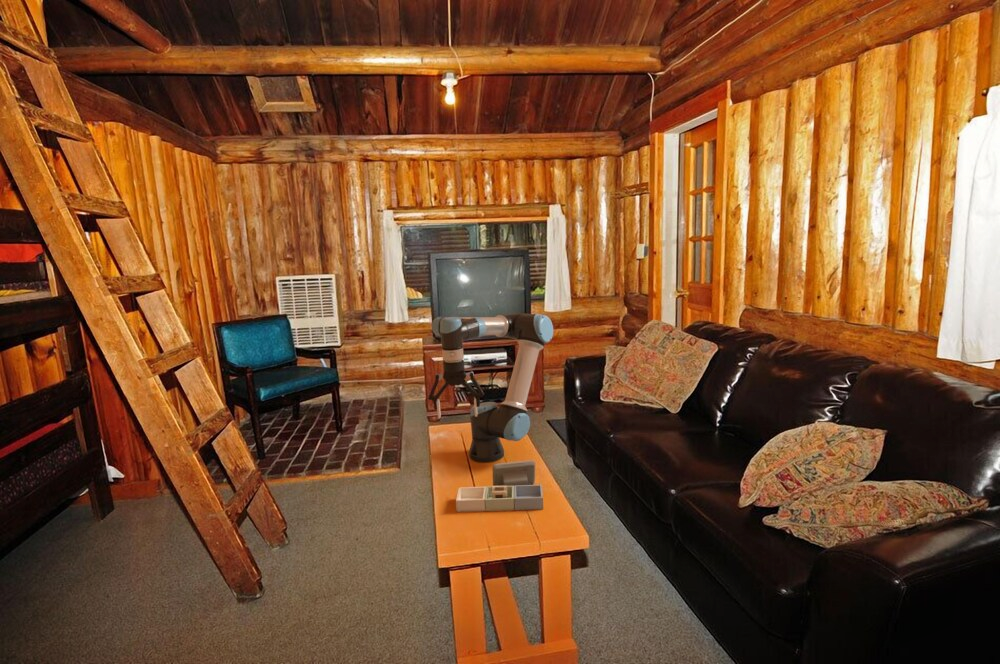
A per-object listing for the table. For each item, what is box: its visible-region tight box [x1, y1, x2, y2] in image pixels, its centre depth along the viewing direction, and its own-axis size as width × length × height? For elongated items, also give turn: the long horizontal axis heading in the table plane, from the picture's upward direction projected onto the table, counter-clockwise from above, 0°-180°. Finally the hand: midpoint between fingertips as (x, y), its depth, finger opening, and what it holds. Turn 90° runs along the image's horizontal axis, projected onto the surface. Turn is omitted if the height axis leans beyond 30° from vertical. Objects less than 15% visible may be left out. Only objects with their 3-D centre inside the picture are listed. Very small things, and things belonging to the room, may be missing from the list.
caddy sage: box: [485, 485, 515, 512], centre depth 185 cm, size 10×10×4 cm
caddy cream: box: [455, 486, 487, 513], centre depth 186 cm, size 10×10×4 cm
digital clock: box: [492, 459, 536, 486], centre depth 196 cm, size 16×9×11 cm, turn 86°
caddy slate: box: [514, 484, 544, 511], centre depth 185 cm, size 10×10×4 cm
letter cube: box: [492, 485, 508, 499], centre depth 185 cm, size 5×5×5 cm
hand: (457, 416), depth 194 cm, fingers open, 13 cm apart
